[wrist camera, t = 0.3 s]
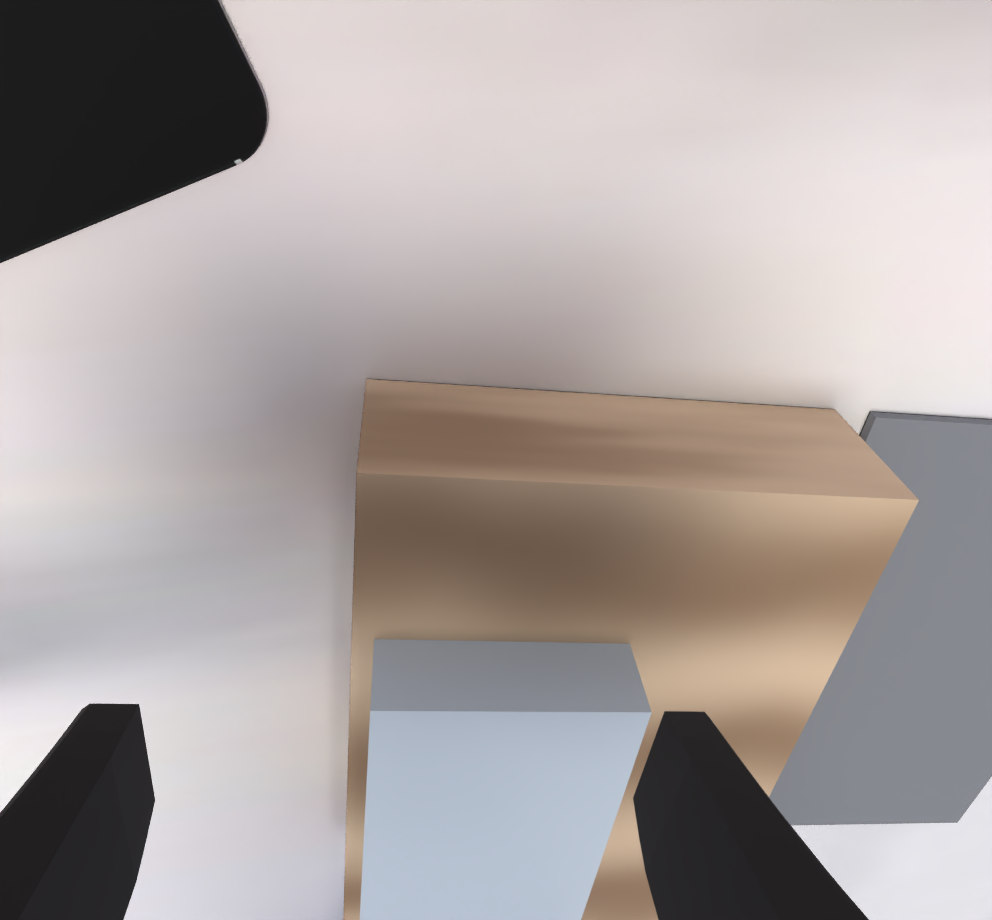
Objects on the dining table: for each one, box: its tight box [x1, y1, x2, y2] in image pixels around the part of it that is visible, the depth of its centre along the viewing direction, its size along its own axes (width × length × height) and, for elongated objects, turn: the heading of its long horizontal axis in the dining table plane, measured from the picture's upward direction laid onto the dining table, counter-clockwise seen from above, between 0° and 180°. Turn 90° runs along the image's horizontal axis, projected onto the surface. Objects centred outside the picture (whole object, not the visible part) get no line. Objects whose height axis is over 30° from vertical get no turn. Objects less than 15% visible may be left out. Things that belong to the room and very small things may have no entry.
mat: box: [769, 412, 992, 825], centre depth 26 cm, size 18×11×1 cm, turn 173°
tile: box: [360, 639, 652, 920], centre depth 20 cm, size 9×6×2 cm, turn 173°
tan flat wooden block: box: [343, 379, 919, 920], centre depth 22 cm, size 18×12×4 cm, turn 173°
